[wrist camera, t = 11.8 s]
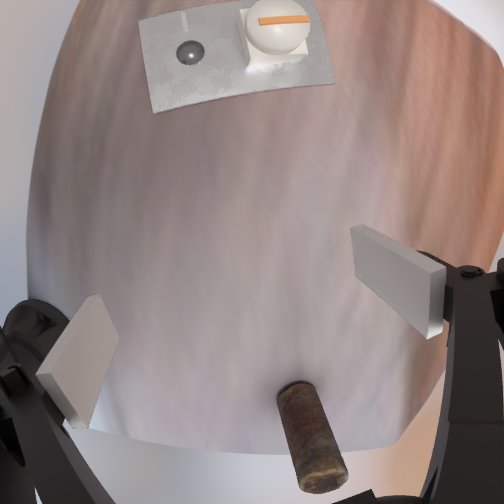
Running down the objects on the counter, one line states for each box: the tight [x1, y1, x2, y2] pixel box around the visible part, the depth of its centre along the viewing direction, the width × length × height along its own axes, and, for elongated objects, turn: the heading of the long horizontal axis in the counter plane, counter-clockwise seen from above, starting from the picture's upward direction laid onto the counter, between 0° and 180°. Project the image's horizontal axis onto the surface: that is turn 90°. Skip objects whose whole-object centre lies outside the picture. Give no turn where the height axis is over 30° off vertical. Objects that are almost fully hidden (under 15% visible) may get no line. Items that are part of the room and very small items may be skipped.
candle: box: [277, 383, 348, 494], centre depth 43 cm, size 8×7×20 cm
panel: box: [138, 0, 336, 114], centre depth 33 cm, size 24×14×4 cm, turn 101°
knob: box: [237, 0, 310, 67], centre depth 30 cm, size 7×7×8 cm
